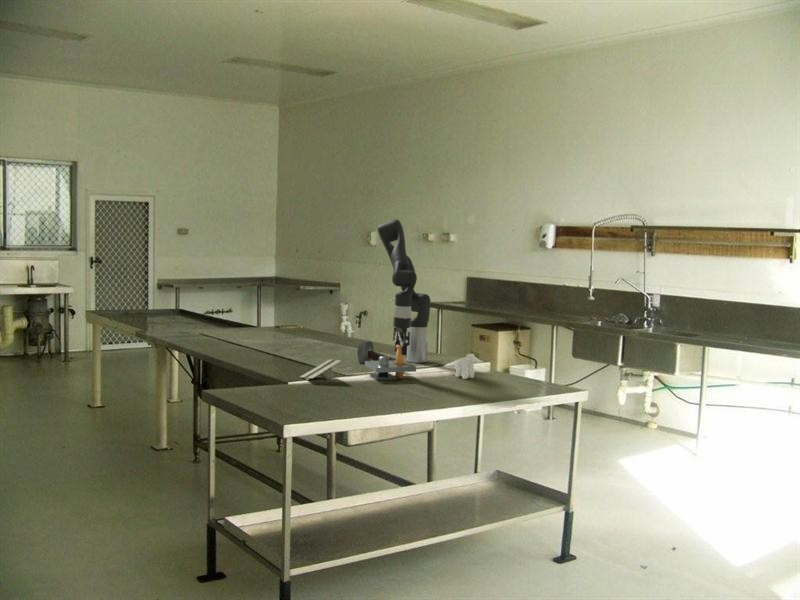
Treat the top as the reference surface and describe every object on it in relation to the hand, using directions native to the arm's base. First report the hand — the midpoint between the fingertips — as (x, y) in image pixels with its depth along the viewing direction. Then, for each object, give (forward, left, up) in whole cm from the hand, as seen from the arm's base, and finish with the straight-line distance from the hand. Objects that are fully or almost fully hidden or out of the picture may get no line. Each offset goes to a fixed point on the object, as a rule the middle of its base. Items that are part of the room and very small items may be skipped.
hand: (400, 353), depth 365 cm
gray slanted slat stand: (+36, +1, -11) cm, 38 cm away
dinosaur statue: (-28, +2, -11) cm, 31 cm away
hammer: (0, -24, -11) cm, 26 cm away
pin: (0, 0, -11) cm, 11 cm away
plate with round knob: (+5, 0, -11) cm, 12 cm away
